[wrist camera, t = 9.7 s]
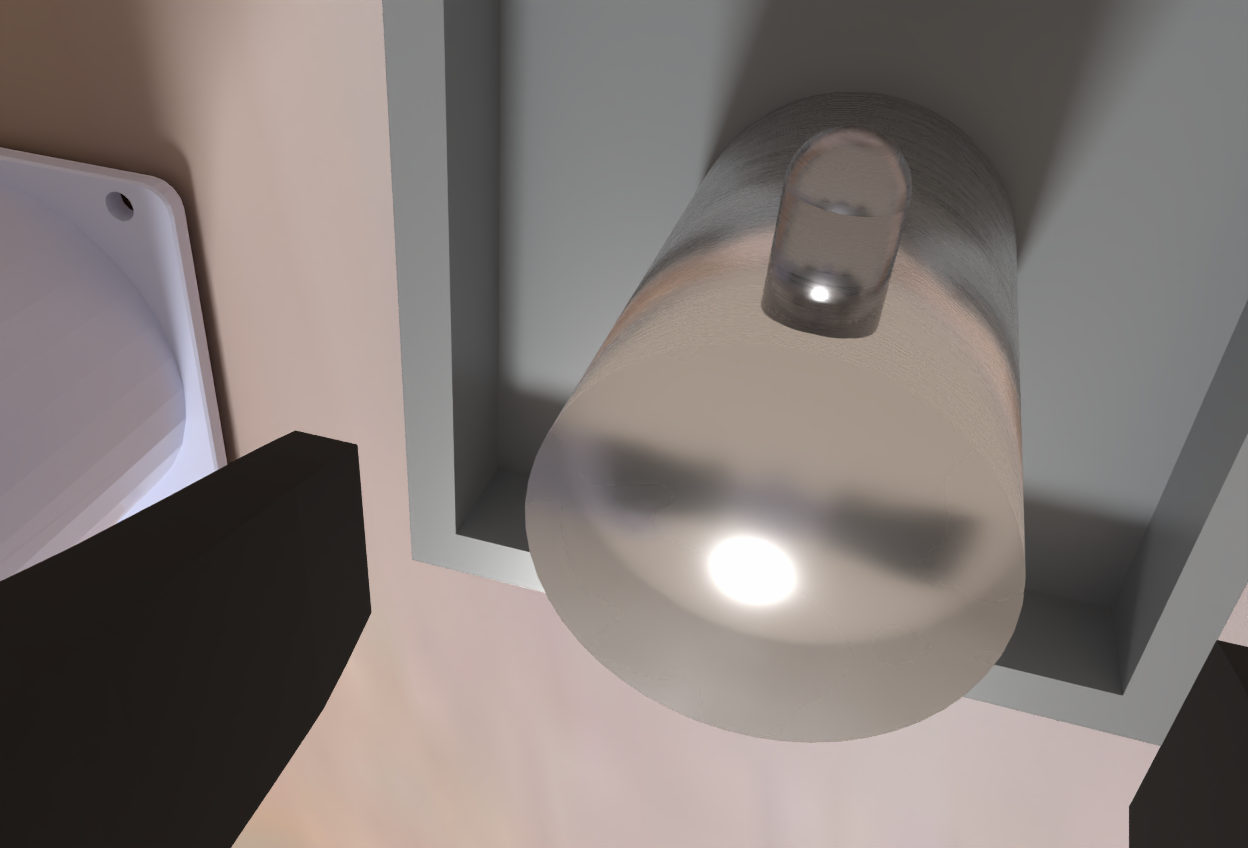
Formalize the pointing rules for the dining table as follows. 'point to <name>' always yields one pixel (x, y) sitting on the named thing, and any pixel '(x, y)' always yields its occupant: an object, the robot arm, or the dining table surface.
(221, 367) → the dining table surface
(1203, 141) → the parts tray
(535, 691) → the dining table surface
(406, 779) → the dining table surface
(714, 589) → the handled mug
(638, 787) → the dining table surface
